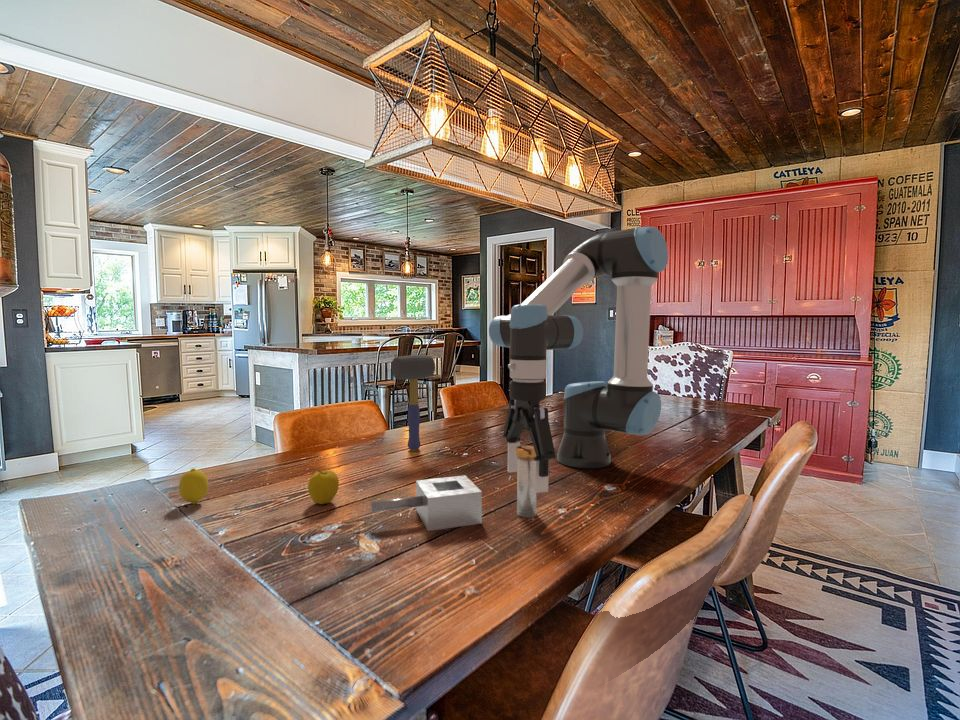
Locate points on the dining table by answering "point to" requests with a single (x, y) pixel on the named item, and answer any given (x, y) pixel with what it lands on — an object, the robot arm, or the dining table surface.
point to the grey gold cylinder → (525, 481)
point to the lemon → (193, 486)
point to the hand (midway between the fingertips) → (526, 481)
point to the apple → (323, 486)
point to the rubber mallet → (413, 388)
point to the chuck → (441, 502)
